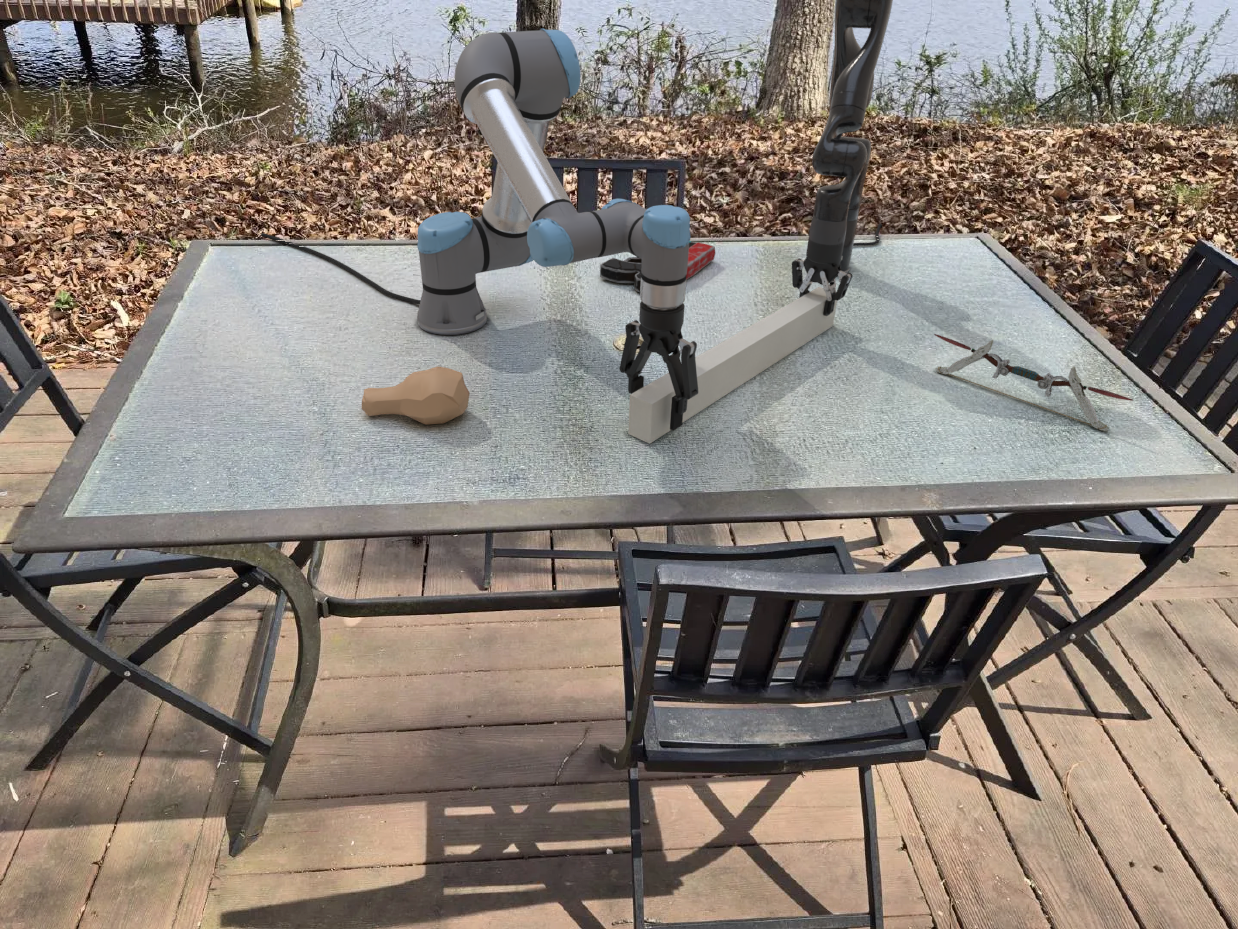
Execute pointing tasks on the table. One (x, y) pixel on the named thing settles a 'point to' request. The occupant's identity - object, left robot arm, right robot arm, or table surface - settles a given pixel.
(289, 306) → the table surface
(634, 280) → the gun
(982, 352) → the bow
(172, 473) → the table surface
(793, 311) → the beam
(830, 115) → the right robot arm
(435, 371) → the squash
